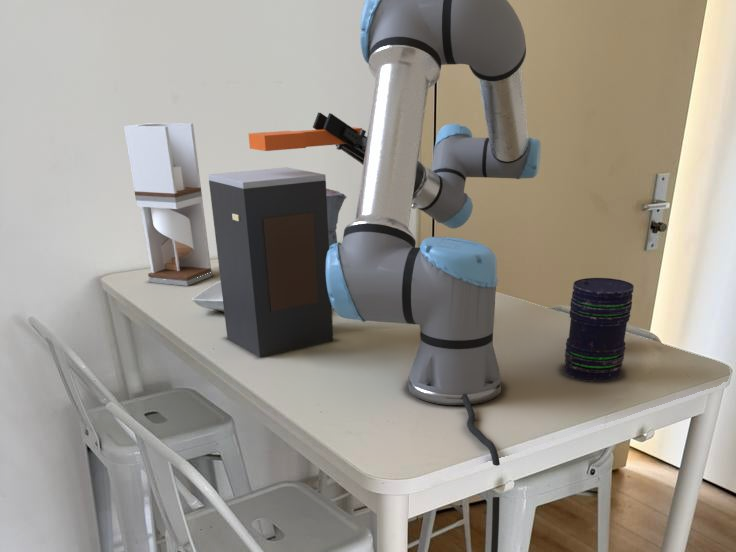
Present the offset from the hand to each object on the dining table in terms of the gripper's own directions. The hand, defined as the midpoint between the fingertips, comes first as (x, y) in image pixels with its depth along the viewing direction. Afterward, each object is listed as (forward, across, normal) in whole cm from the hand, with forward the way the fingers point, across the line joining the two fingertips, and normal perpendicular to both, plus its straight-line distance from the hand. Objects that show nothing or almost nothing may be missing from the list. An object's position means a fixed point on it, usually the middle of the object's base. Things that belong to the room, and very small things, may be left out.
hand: (321, 120), depth 138 cm
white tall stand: (-12, +59, -37) cm, 71 cm away
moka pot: (-46, +56, -17) cm, 75 cm away
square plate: (-19, +26, -33) cm, 46 cm away
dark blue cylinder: (-39, -49, -22) cm, 66 cm away
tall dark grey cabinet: (-9, 0, -39) cm, 40 cm away
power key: (0, 0, -5) cm, 5 cm away
